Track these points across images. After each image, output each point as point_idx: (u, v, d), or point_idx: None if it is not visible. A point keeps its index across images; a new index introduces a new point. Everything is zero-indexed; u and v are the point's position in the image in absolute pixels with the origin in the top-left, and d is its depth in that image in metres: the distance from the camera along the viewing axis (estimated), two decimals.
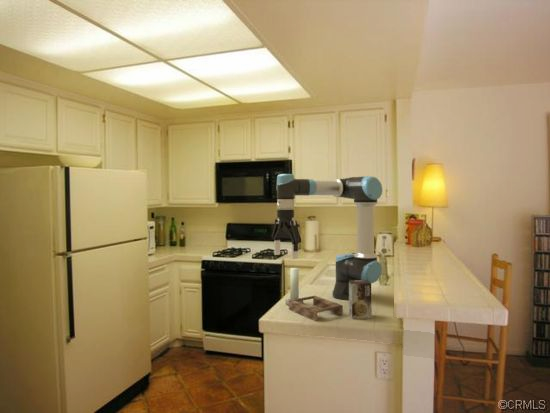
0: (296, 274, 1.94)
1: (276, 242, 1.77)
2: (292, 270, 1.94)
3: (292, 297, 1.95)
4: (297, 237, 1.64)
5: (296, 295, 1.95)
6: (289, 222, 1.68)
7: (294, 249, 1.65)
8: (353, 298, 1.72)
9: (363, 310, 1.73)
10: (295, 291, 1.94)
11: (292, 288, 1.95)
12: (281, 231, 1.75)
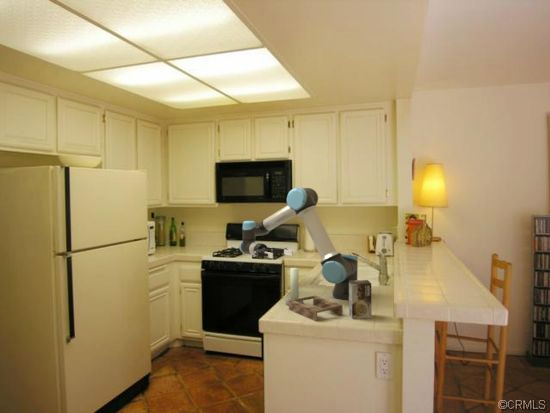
0: (296, 274, 1.94)
1: (284, 253, 2.12)
2: (292, 270, 1.94)
3: (292, 297, 1.95)
4: (257, 254, 2.04)
5: (296, 295, 1.95)
6: None
7: (266, 256, 2.01)
8: (353, 298, 1.72)
9: (363, 310, 1.73)
10: (295, 291, 1.94)
11: (292, 288, 1.95)
12: (275, 250, 2.14)
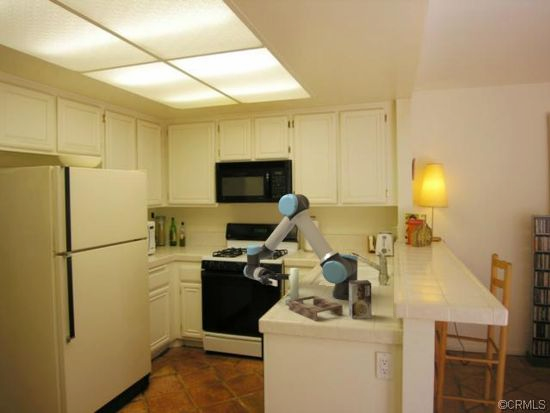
0: (296, 274, 1.94)
1: (289, 279, 2.09)
2: (292, 270, 1.94)
3: (292, 297, 1.95)
4: (261, 281, 2.02)
5: (296, 295, 1.95)
6: None
7: (270, 283, 1.99)
8: (353, 298, 1.72)
9: (363, 310, 1.73)
10: (295, 291, 1.94)
11: (292, 288, 1.95)
12: (279, 276, 2.11)
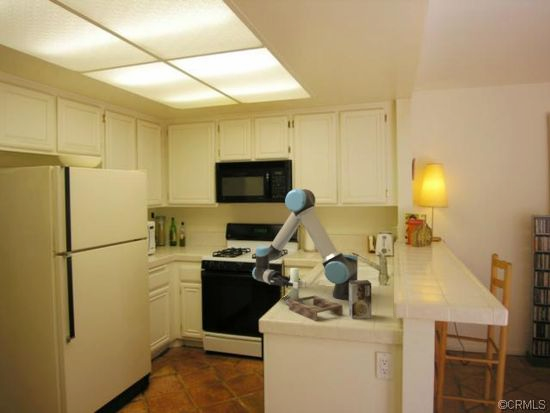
0: (296, 274, 1.94)
1: None
2: (292, 270, 1.94)
3: (292, 297, 1.95)
4: (280, 284, 1.96)
5: (296, 295, 1.95)
6: None
7: (290, 286, 1.93)
8: (353, 298, 1.72)
9: (363, 310, 1.73)
10: (295, 291, 1.94)
11: (292, 288, 1.95)
12: (288, 279, 2.03)
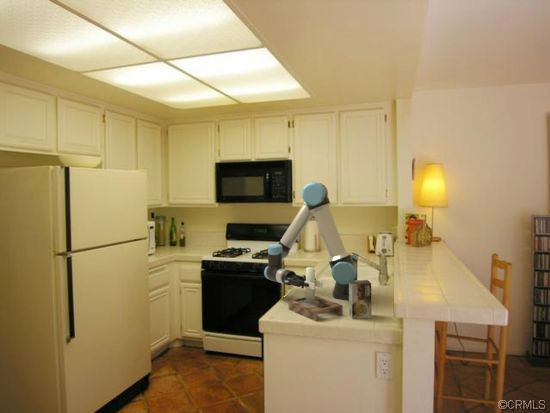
0: (312, 274, 1.83)
1: None
2: (308, 269, 1.83)
3: (308, 298, 1.83)
4: (295, 284, 1.84)
5: (312, 296, 1.83)
6: None
7: (306, 286, 1.82)
8: (353, 298, 1.72)
9: (363, 310, 1.73)
10: (311, 292, 1.83)
11: (308, 289, 1.83)
12: (303, 279, 1.91)
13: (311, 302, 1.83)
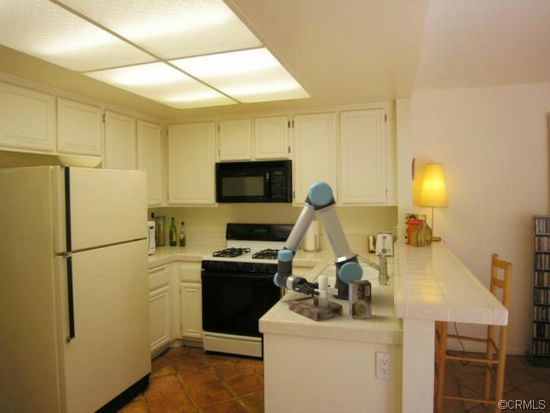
0: (325, 283, 1.75)
1: None
2: (321, 278, 1.75)
3: (321, 308, 1.76)
4: (305, 292, 1.76)
5: (325, 306, 1.76)
6: None
7: (317, 294, 1.74)
8: (353, 298, 1.72)
9: (363, 310, 1.73)
10: (324, 302, 1.75)
11: (321, 298, 1.75)
12: (316, 287, 1.84)
13: (324, 312, 1.75)
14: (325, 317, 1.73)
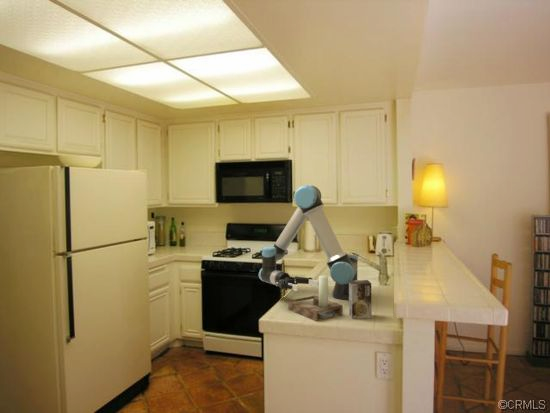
0: (325, 283, 1.75)
1: (309, 283, 1.94)
2: (321, 278, 1.75)
3: (321, 308, 1.76)
4: (280, 286, 1.87)
5: (325, 306, 1.76)
6: None
7: (290, 288, 1.84)
8: (353, 298, 1.72)
9: (363, 310, 1.73)
10: (324, 302, 1.75)
11: (321, 298, 1.75)
12: (298, 280, 1.96)
13: (324, 312, 1.75)
14: (325, 317, 1.73)
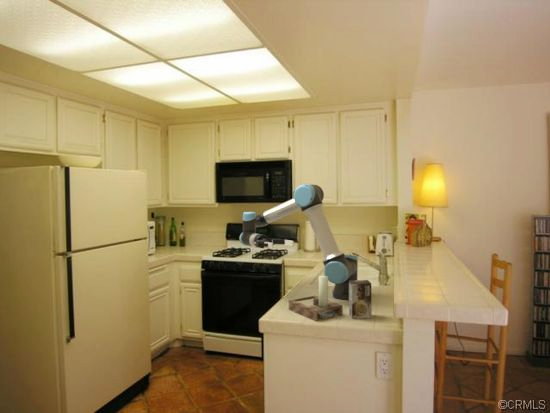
0: (325, 283, 1.75)
1: (285, 243, 2.06)
2: (321, 278, 1.75)
3: (321, 308, 1.76)
4: (257, 244, 1.99)
5: (325, 306, 1.76)
6: None
7: None
8: (353, 298, 1.72)
9: (363, 310, 1.73)
10: (324, 302, 1.75)
11: (321, 298, 1.75)
12: (275, 241, 2.09)
13: (324, 312, 1.75)
14: (325, 317, 1.73)
